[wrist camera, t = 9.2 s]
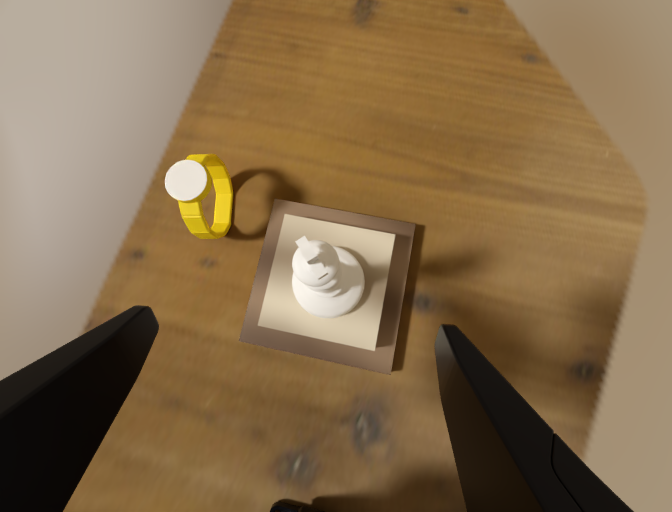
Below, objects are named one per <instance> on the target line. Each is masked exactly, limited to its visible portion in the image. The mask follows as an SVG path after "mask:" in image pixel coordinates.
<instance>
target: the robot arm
mask: <svg viewBox="0 0 672 512" xmlns="http://www.w3.org/2000/svg"><path fill="white" fill-rule="evenodd" d="M158 329H159V324H158V321H157V319H156V317H155V315H154V313H153V311H152V309H151V308H150V307H149V306H133V307H132V308H130V309H128V310H126V311H124V312H123V313H121V314H119V315H117V316H115V317H114V318H112V319H110V320H108V321H106V322H105V323H103V324H101V325H99V326H98V327H96V328H94V329H92V330H90V331H89V332H87V333H85V334H83V335H81V336H80V337H78V338H76V339H74V340H72V341H71V342H69V343H67V344H65V345H63V346H62V347H60V348H58V349H56V350H55V351H53V352H51V353H49V354H47V355H46V356H44V357H42V358H40V359H38V360H37V361H35V362H33V363H31V364H29V365H28V366H26V367H24V368H22V369H21V370H19V371H17V372H15V373H13V374H12V375H10V376H8V377H6V378H4V379H3V380H1V381H0V512H63V510H64V508H65V507H66V505H67V503H68V501H69V500H70V498H71V496H72V494H73V492H74V491H75V489H76V487H77V485H78V483H79V482H80V480H81V478H82V476H83V475H84V473H85V471H86V469H87V467H88V466H89V464H90V462H91V460H92V458H93V457H94V455H95V453H96V451H97V450H98V448H99V446H100V444H101V442H102V441H103V439H104V437H105V435H106V433H107V432H108V430H109V428H110V426H111V424H112V423H113V421H114V419H115V417H116V416H117V414H118V412H119V410H120V408H121V407H122V405H123V403H124V401H125V399H126V398H127V396H128V394H129V392H130V391H131V389H132V387H133V385H134V383H135V381H136V380H137V378H138V376H139V374H140V371H141V369H142V367H143V365H144V363H145V360H146V358H147V356H148V353H149V351H150V349H151V347H152V344H153V342H154V340H155V337H156V335H157V333H158ZM435 355H436V364H437V372H438V380H439V389H440V396H441V402H442V407H443V411H444V415H445V420H446V424H447V428H448V432H449V436H450V441H451V445H452V449H453V453H454V458H455V462H456V466H457V470H458V475H459V479H460V483H461V487H462V492H463V496H464V500H465V504H466V508H467V512H634V511H633V510H631V509H630V508H629V507H628V506H627V505H626V504H625V503H624V502H623V501H622V500H621V499H620V498H619V497H618V496H617V495H616V494H615V493H614V492H612V490H611V489H610V488H609V487H608V486H607V485H605V484H604V483H603V482H602V481H601V480H600V479H599V478H598V477H597V476H596V475H595V474H594V473H593V472H592V471H591V470H590V469H589V468H588V467H587V466H586V465H585V463H584V462H583V461H582V460H581V459H580V458H579V457H578V456H577V455H576V454H575V453H574V452H573V451H572V450H571V449H570V448H569V447H568V446H567V445H566V444H565V442H564V441H563V440H562V439H561V438H560V437H559V436H558V435H557V434H555V433H554V432H553V430H552V429H551V428H550V426H549V425H548V424H547V423H546V422H545V421H544V420H543V419H542V418H541V417H540V416H539V415H538V413H537V412H536V411H535V410H534V409H533V408H532V407H531V406H530V405H529V404H528V403H527V402H526V401H525V399H524V398H523V397H522V396H521V395H520V394H519V393H518V392H517V391H516V390H515V389H514V388H513V387H512V385H511V384H510V383H509V382H508V381H507V380H506V379H505V378H504V377H503V376H502V375H501V374H500V372H499V371H498V370H497V369H496V368H495V367H494V366H493V365H492V364H491V363H490V362H489V361H488V360H487V358H486V357H485V356H484V355H483V354H482V353H481V352H480V351H479V350H478V349H477V348H476V347H475V345H474V344H473V343H472V342H471V341H470V340H469V339H468V338H467V337H466V336H465V335H464V334H463V333H462V331H461V330H460V329H459V328H458V327H457V326H455V325H450V324H442V325H441V326H440V327H439V331H438V334H437V337H436V341H435ZM275 510H279V511H280V512H324V511H320V510H316V509H313V508H309V507H305V506H302V507H297V506H294V505H290V504H286V503H282V502H276V503H274V504H273V505H272V508H271V510H270V512H275Z"/></svg>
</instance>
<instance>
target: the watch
mask: <svg viewBox="0 0 672 512" xmlns="http://www.w3.org/2000/svg"><path fill="white" fill-rule="evenodd" d="M205 165H206V166H207V168H208V170H209V171H208V170H207V169H206V168H205V167H204V166H205ZM209 172H210V173H209ZM210 174H211V175H210ZM211 176H212V178H213V182H214V187H215V191H216V202H215V213H214V224H213V225H212V227H211V228H210V227H209V225H208V223H207V221H206V219H205V217H204V215H203V210H202V204H201V200H203V199H204V198H205V197H206V196H207V195H208V193H209V191H210V190H211V186H212V178H211ZM165 187H166V189H167V192H168V193H169V194H170V195H171V196H172V197H173V198H174V199H176V200H178V202H179V207H180V212H181V215H182V218H183V220H184V222H185V223H186V225H187V227H188V229H189V231H190V232H191V233H192V234H194V235H195V236H197V237H198V238H201V239H218V238H221V237H224V236H225V235H226V234H227V232H228V230H229V228H230V227H231V225H232V223H231V215H232V202H233V188H232V183H231V178H230V175H229V173H228V171H227V168H226V166H225V164H224V162H223V161H222V160H221V159H220V158H219V157H218V156H217V155H215V154H196V155H189V156H188V157H187V158H186V160H182V161H180V162H177V163H175V164H174V165H173V166H172V167H171V168H170V169H169V171H168V172H167V174H166V178H165Z"/></svg>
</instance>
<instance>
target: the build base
mask: <svg viewBox="0 0 672 512" xmlns="http://www.w3.org/2000/svg"><path fill="white" fill-rule="evenodd" d="M415 225H416V224H413V223H407V222H401V221H396V220H390V219H385V218H379V217H374V216H368V215H363V214H357V213H352V212H346V211H341V210H335V209H330V208H324V207H319V206H313V205H308V204H302V203H297V202H291V201H286V200H280V199H275V200H274V204H273V208H272V212H271V216H270V220H269V224H268V227H267V231H266V235H265V239H264V243H263V247H262V251H261V255H260V259H259V263H258V267H257V271H256V275H255V279H254V283H253V287H252V291H251V295H250V299H249V303H248V307H247V311H246V315H245V319H244V323H243V327H242V331H241V335H240V339H239V341H241V342H245V343H250V344H254V345H259V346H263V347H268V348H272V349H277V350H281V351H285V352H290V353H294V354H299V355H303V356H308V357H312V358H317V359H321V360H326V361H330V362H335V363H339V364H343V365H348V366H352V367H357V368H361V369H366V370H370V371H375V372H379V373H384V374H388V375H391V369H392V363H393V357H394V351H395V345H396V339H397V333H398V327H399V321H400V315H401V309H402V303H403V297H404V291H405V285H406V279H407V273H408V267H409V261H410V255H411V249H412V243H413V237H414V231H415ZM303 236H305V237H306V238H307V240H308V241H311V240H321V241H324V242H327V243H328V244H330V245H331V246H336V247H339V248H342V249H344V250H346V251H348V252H349V253H350V254H352V255H353V256H354V257H355V258H356V259H357V261H358V262H359V264H360V266H361V268H362V270H363V273H364V280H365V284H364V291H363V294H362V297H361V299H360V301H359V302H358V304H357V305H356V306H355V307H354V308H353V309H352V310H351V311H350V312H348V313H346V314H345V315H342V316H340V317H336V318H320V317H316V316H314V315H312V314H310V313H308V312H307V311H306V310H304V309H303V308H302V307H301V305H300V304H299V303H298V301H297V299H296V297H295V295H294V292H293V287H292V277H293V272H294V271H293V268H292V260H293V256H294V254H295V252H296V250H297V249H298V248H299V247H298V245H297V244H296V242H295V241H297V240H298V239H300V238H302V237H303Z"/></svg>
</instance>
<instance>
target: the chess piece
mask: <svg viewBox="0 0 672 512" xmlns="http://www.w3.org/2000/svg"><path fill="white" fill-rule="evenodd" d="M295 242H296V244H297V245H298V247H299V248H298V249H297V250H296V252H295V254H294V256H293V260H292V268H293V271H294V272H293V277H292V287H293V292H294V295H295V297H296V299H297V301H298V303H299V304H300V305H301V307H302V308H303V309H304V310H306V311H307V312H308V313H310V314H312V315H314V316H316V317H320V318H336V317H340V316H342V315H345V314H346V313H348V312H350V311H351V310H352V309H353V308H354V307H355V306H356V305H357V304H358V302H359V301H360V299H361V297H362V294H363V291H364V284H365V280H364V273H363V270H362V268H361V266H360V264H359V262H358V261H357V259H356V258H355V257H354V256H353V255H352V254H350V253H349V252H348V251H346V250H344V249H342V248H339V247H336V246H331V245H330V244H328V243H327V242H324V241H321V240H311V241H308V240H307V238H306V237H305V236H303V237H302V238H300V239H298V240H297V241H295Z"/></svg>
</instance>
